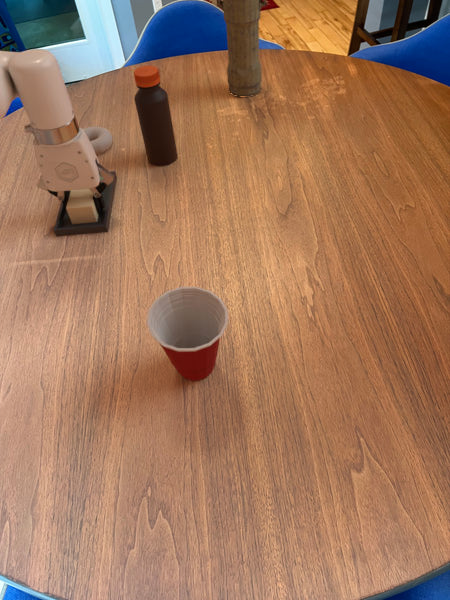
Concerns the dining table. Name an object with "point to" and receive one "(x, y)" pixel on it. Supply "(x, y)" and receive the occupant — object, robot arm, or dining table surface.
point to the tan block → (81, 207)
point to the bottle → (154, 117)
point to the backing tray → (102, 225)
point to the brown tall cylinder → (243, 45)
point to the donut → (99, 138)
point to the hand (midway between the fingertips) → (86, 210)
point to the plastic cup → (189, 329)
